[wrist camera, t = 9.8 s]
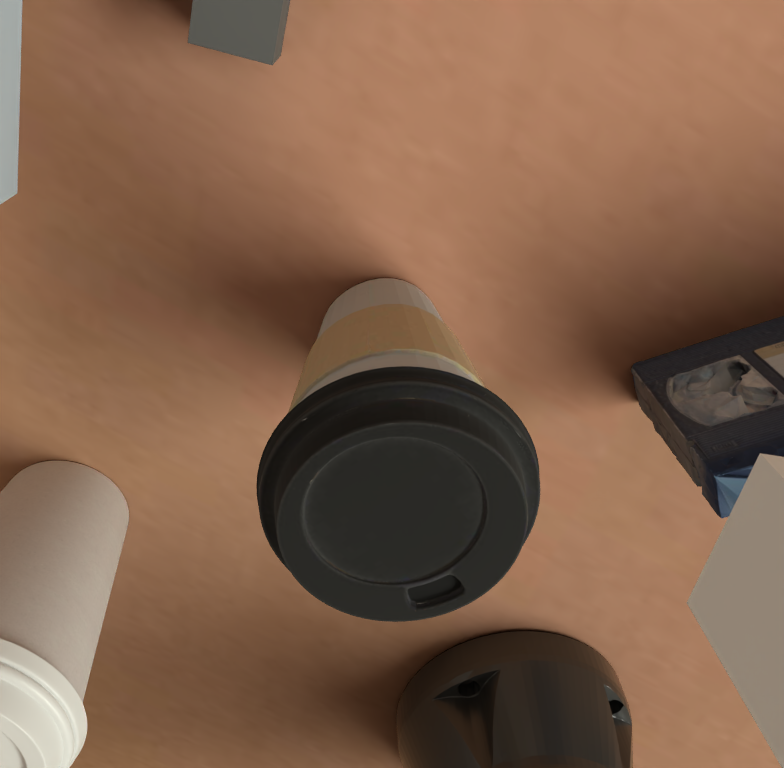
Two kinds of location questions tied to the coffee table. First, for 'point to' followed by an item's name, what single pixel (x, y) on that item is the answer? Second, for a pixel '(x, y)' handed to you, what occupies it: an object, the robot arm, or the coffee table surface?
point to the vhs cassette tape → (719, 406)
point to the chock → (240, 27)
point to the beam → (9, 95)
